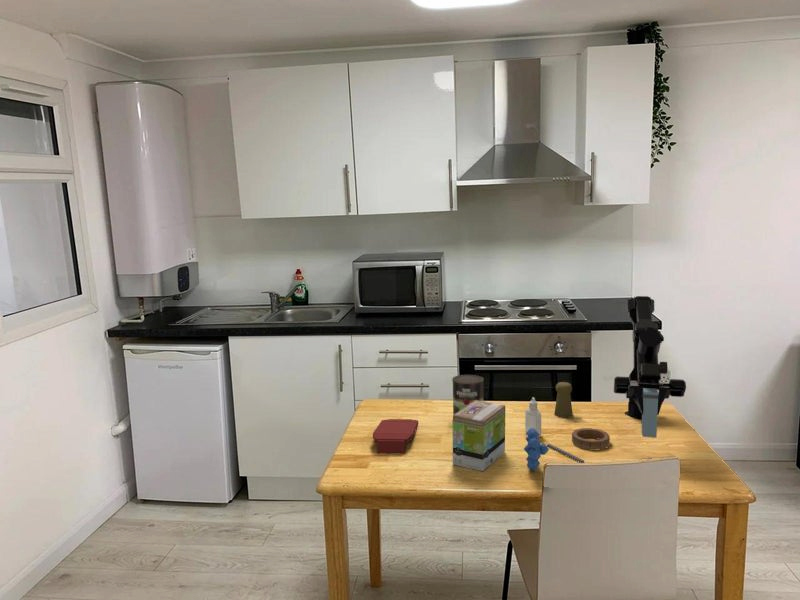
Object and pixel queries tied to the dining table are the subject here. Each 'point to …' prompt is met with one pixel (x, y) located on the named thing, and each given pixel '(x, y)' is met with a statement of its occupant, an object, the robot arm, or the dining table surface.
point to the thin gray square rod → (564, 452)
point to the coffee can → (466, 391)
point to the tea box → (478, 435)
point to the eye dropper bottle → (533, 417)
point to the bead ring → (590, 444)
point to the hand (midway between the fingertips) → (650, 414)
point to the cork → (563, 400)
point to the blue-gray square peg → (649, 412)
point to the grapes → (534, 449)
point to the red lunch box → (394, 435)
